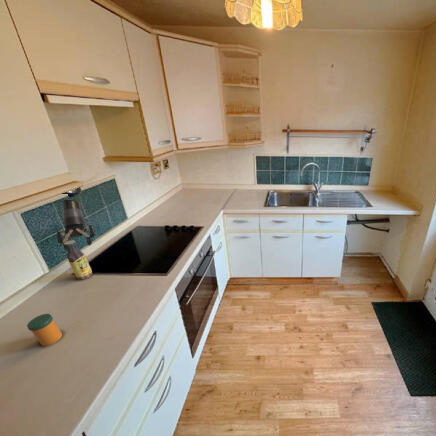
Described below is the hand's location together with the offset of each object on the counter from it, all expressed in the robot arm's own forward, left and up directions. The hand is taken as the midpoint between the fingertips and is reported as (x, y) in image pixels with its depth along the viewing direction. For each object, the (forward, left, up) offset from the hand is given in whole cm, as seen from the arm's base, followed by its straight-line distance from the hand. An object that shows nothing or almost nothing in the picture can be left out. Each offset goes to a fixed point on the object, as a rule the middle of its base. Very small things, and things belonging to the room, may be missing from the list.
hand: (78, 247), depth 116 cm
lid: (-24, -41, -3) cm, 47 cm away
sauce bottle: (-4, -7, -13) cm, 15 cm away
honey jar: (-24, -41, -13) cm, 49 cm away
